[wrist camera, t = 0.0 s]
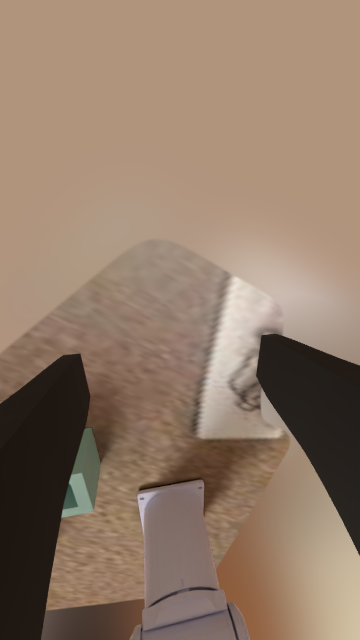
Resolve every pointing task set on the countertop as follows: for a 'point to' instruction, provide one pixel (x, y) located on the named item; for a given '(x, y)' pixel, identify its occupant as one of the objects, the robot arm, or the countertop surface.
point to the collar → (83, 478)
